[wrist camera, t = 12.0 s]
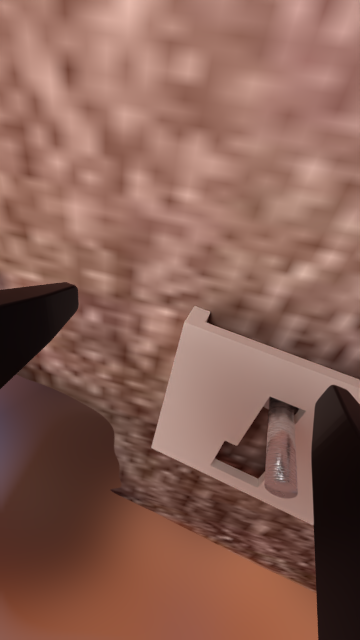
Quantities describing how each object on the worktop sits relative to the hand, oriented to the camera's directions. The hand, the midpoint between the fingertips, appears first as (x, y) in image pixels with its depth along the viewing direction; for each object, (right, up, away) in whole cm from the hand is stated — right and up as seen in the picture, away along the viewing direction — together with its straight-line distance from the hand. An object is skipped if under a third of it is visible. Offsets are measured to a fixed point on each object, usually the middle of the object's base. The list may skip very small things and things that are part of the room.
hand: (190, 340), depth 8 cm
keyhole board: (+8, -9, +17) cm, 22 cm away
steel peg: (+9, -6, +15) cm, 18 cm away
